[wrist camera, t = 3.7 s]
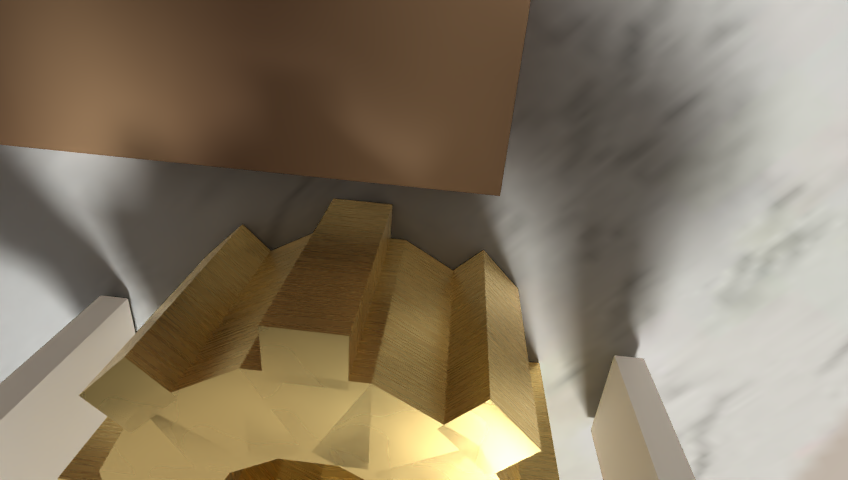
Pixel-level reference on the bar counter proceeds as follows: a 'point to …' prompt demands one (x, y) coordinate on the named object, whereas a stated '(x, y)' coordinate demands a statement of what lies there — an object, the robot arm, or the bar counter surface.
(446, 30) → the gear board
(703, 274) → the bar counter surface
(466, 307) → the brass gear
